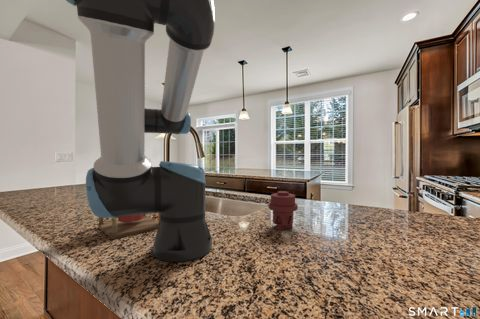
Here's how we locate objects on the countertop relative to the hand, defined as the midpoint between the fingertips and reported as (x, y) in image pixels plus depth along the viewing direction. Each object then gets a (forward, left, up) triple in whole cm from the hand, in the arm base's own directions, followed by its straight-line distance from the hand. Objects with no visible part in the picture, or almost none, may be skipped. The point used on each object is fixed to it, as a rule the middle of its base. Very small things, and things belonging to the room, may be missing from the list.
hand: (130, 215), depth 78 cm
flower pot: (0, 0, -2) cm, 2 cm away
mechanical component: (-38, -37, -4) cm, 53 cm away
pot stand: (0, 0, -4) cm, 4 cm away
